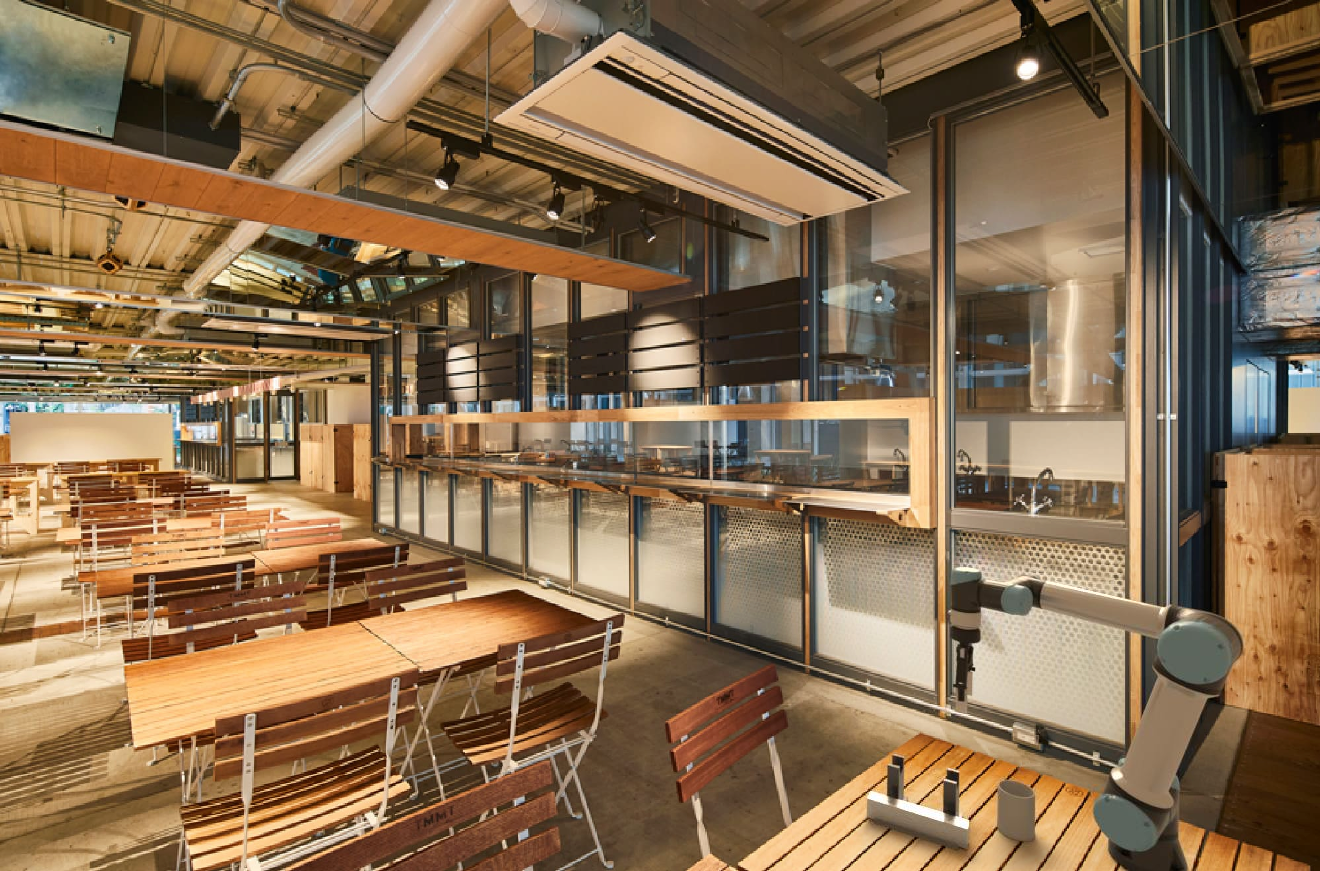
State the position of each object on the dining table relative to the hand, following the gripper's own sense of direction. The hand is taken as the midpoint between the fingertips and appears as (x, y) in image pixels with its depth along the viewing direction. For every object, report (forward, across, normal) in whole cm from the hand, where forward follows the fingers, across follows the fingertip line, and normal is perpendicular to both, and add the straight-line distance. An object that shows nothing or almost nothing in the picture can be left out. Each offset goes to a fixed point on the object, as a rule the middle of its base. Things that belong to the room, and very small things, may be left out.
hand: (964, 703), depth 172 cm
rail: (+28, +17, -9) cm, 34 cm away
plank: (+29, +17, -9) cm, 35 cm away
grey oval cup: (+29, +2, +12) cm, 31 cm away
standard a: (+29, +8, -2) cm, 30 cm away
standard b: (+29, +8, -16) cm, 34 cm away
